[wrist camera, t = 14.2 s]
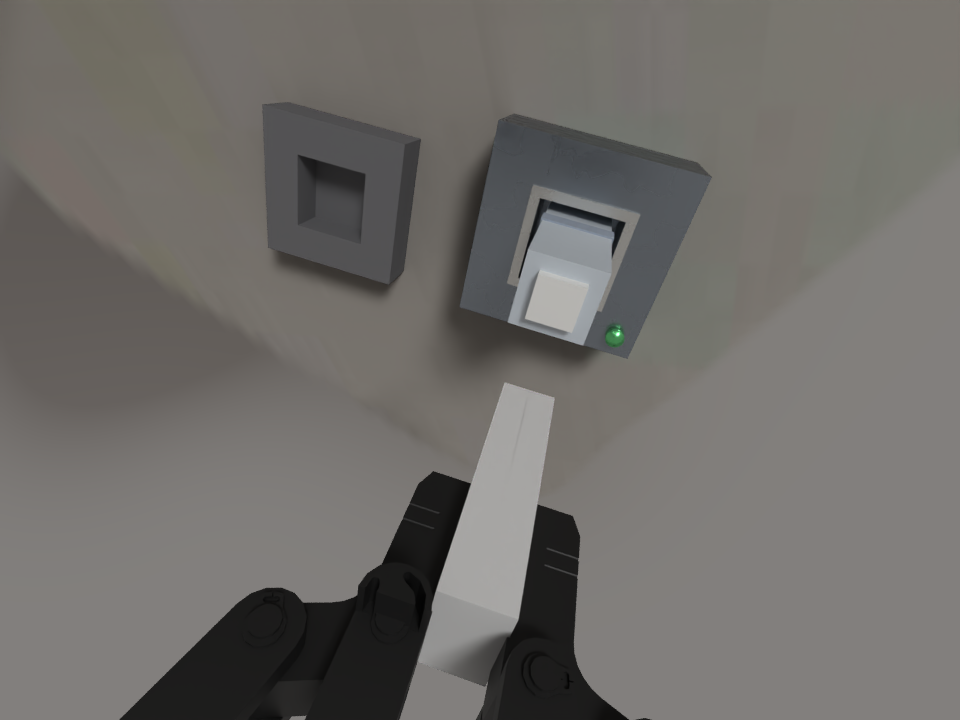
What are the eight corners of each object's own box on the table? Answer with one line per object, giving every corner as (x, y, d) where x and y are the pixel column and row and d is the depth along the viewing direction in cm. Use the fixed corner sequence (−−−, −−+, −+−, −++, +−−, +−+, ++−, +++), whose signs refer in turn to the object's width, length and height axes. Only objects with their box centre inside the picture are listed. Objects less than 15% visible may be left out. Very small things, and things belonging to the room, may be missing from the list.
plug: (536, 251, 34) (503, 328, 24) (553, 192, 32) (524, 250, 22) (592, 267, 34) (583, 353, 24) (613, 209, 32) (614, 277, 21)
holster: (290, 236, 39) (268, 247, 37) (288, 102, 34) (262, 104, 31) (403, 271, 38) (388, 284, 36) (420, 139, 33) (404, 144, 30)
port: (476, 280, 37) (457, 310, 33) (514, 113, 31) (496, 120, 26) (625, 325, 36) (627, 363, 32) (697, 162, 30) (713, 179, 25)
